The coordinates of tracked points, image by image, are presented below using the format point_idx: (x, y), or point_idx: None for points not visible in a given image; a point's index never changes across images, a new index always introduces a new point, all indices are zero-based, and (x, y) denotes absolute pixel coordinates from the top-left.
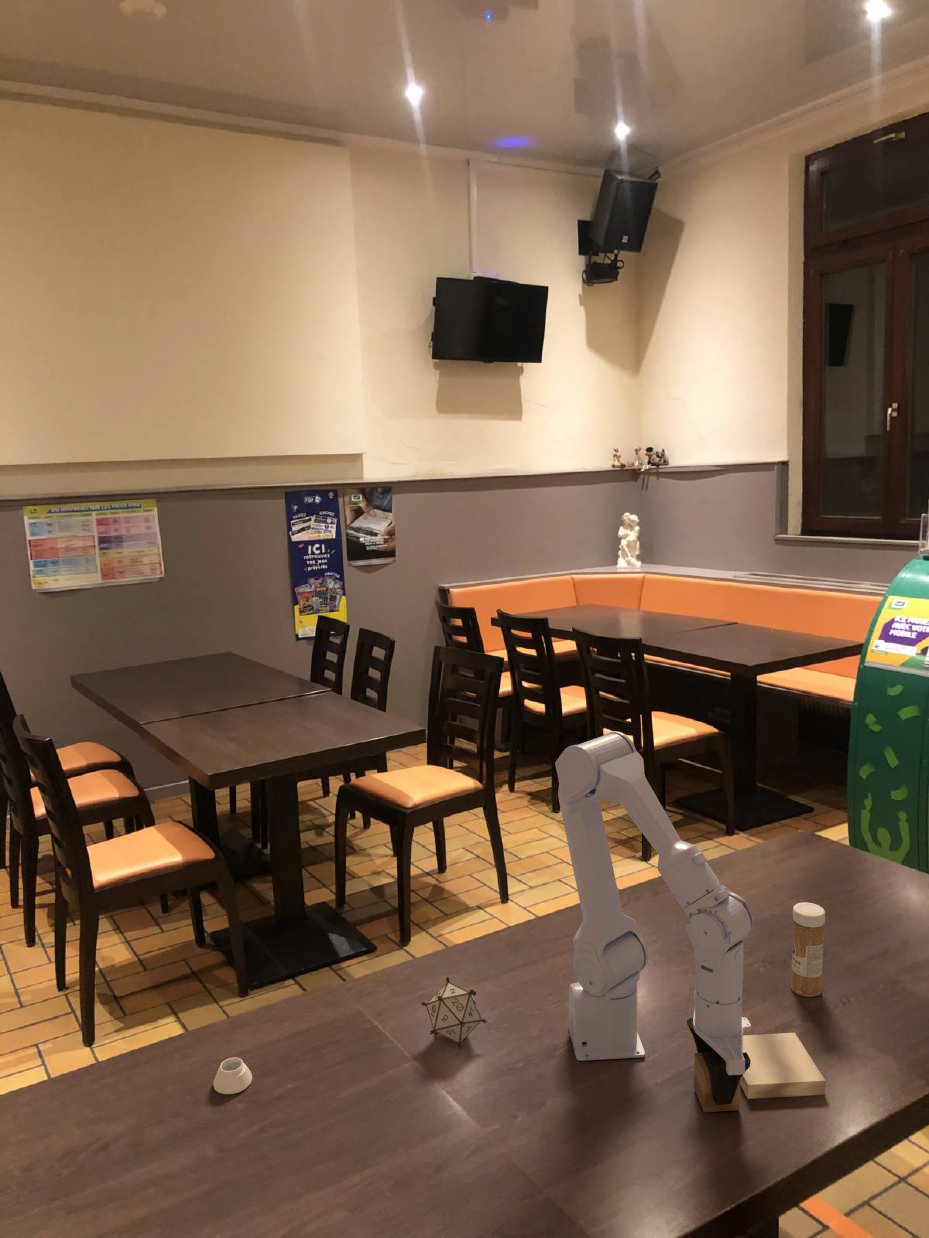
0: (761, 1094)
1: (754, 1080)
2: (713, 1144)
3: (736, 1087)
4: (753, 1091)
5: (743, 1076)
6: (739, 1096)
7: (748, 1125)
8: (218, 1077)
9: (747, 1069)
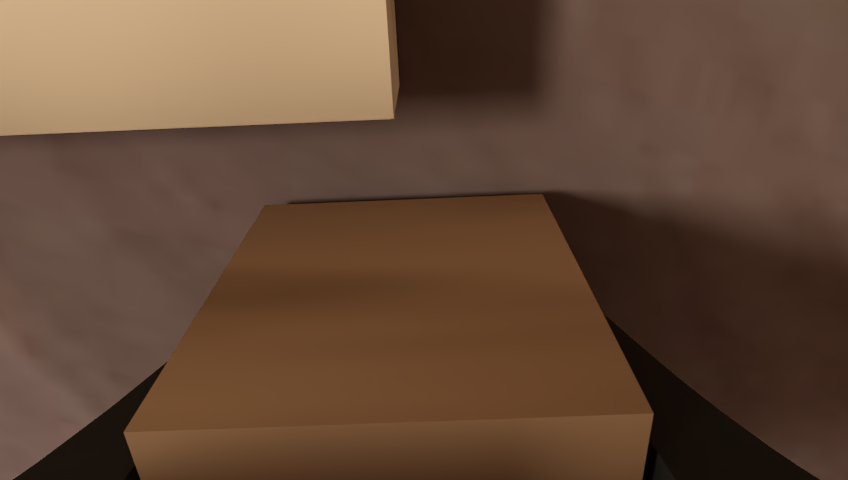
0: None
1: (319, 24)
2: (785, 405)
3: (708, 403)
4: (393, 44)
5: (254, 122)
6: (571, 253)
7: (688, 165)
8: None
9: (135, 48)
